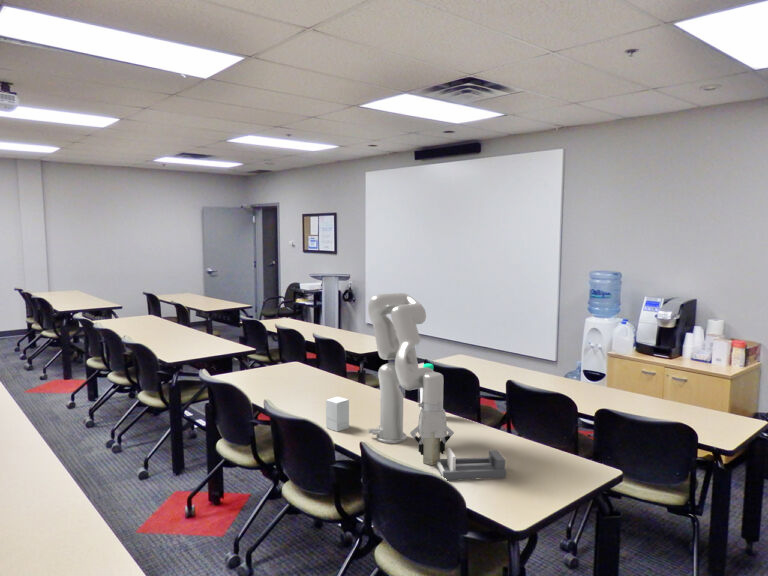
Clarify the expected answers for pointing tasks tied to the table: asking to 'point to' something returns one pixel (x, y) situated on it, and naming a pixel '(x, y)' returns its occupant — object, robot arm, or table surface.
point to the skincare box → (431, 450)
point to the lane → (475, 467)
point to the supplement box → (337, 413)
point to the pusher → (452, 464)
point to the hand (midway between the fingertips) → (431, 452)
